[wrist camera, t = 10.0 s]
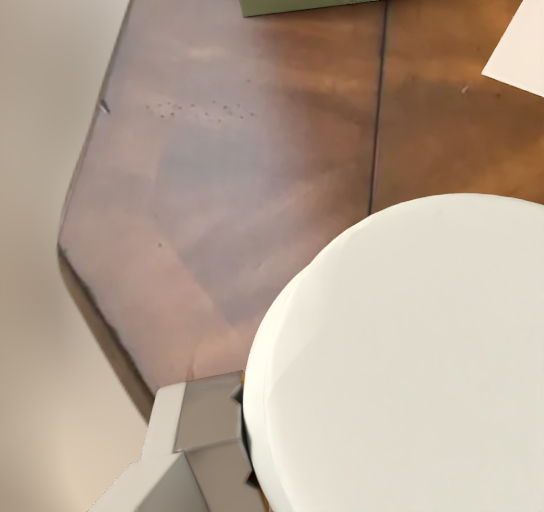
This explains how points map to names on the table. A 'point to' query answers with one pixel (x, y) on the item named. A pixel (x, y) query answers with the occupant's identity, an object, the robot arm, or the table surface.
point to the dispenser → (287, 5)
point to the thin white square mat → (521, 50)
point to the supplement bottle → (407, 365)
